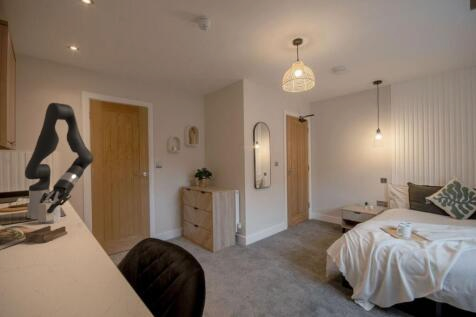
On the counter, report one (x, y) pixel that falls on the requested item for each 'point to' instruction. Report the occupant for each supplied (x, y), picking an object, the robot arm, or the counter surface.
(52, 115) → the robot arm
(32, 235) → the slot stand
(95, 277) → the counter surface
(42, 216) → the clay bar
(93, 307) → the counter surface
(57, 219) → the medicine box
